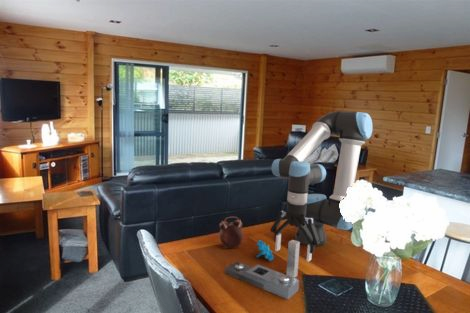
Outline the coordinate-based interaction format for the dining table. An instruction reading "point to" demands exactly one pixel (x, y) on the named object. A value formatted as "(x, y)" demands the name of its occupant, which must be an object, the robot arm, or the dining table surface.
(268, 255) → the blue bumpy figurine
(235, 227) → the alarm clock
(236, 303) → the dining table surface
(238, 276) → the grey studded bar
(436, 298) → the dining table surface
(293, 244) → the steel pin
